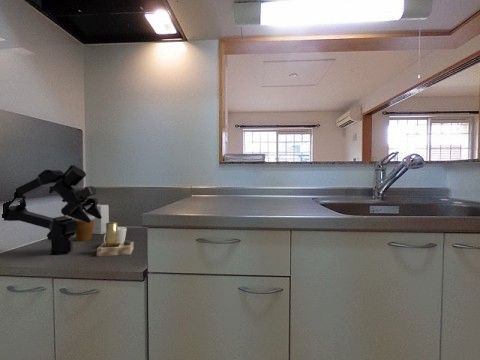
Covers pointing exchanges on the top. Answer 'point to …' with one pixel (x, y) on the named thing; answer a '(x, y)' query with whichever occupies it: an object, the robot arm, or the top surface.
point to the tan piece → (112, 234)
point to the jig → (116, 249)
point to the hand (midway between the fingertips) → (95, 220)
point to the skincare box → (101, 220)
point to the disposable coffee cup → (84, 229)
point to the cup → (120, 234)
